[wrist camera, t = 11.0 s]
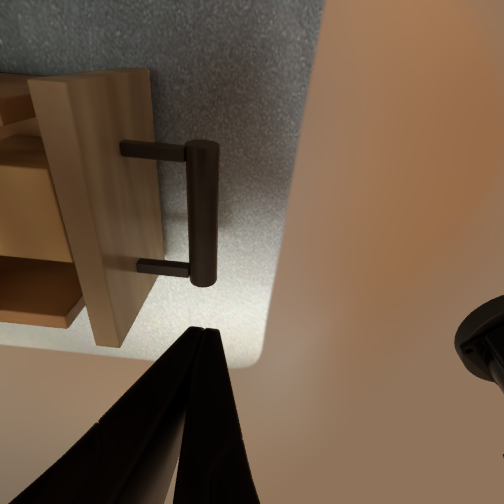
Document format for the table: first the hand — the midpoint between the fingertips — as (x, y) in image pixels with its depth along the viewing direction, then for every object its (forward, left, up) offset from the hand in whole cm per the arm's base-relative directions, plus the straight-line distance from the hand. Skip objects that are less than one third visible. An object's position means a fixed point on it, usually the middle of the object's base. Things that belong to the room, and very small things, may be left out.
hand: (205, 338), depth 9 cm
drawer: (+7, +5, -11) cm, 14 cm away
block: (+8, +6, -10) cm, 14 cm away
